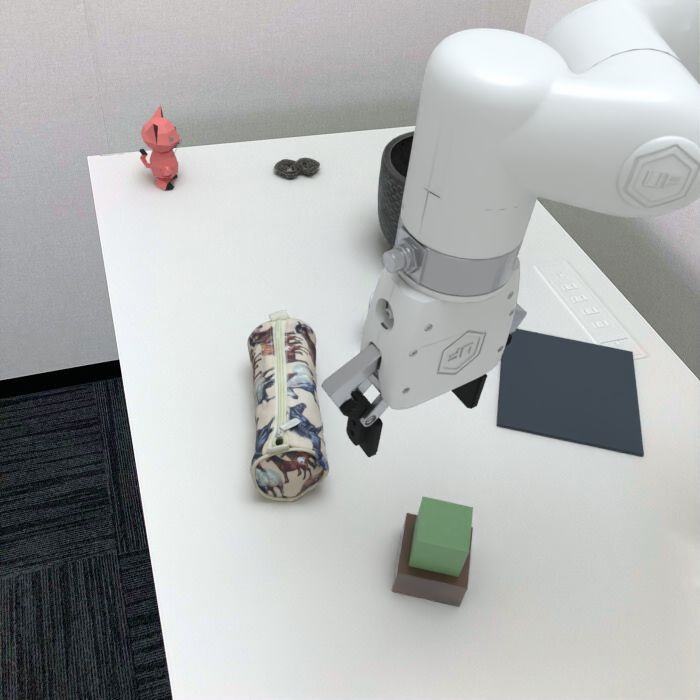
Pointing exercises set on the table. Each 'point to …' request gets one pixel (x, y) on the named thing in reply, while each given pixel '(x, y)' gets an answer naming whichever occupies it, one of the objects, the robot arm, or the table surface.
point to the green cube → (441, 536)
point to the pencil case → (286, 409)
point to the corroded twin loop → (296, 167)
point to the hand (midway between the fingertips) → (412, 418)
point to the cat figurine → (161, 149)
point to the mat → (570, 392)
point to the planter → (393, 183)
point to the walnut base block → (427, 573)
